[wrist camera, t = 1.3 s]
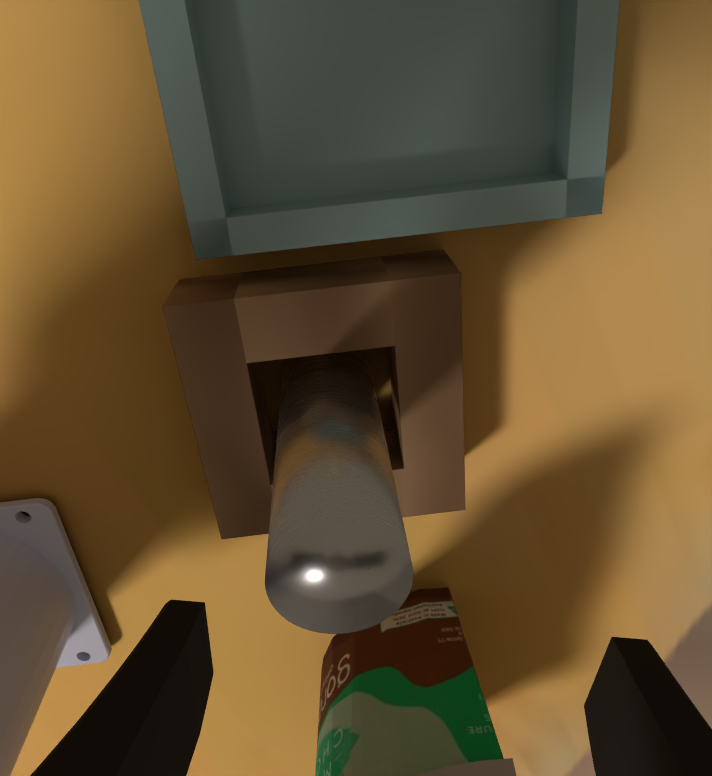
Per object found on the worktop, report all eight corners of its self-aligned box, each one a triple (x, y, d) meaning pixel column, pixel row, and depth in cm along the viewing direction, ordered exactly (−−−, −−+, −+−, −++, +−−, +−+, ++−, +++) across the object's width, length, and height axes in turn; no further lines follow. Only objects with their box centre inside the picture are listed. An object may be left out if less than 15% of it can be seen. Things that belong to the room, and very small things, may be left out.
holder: (229, 494, 22) (221, 539, 20) (179, 280, 19) (162, 307, 16) (450, 467, 22) (465, 509, 20) (443, 249, 19) (460, 273, 17)
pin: (288, 426, 21) (277, 642, 13) (275, 346, 20) (253, 532, 12) (376, 416, 21) (417, 624, 13) (368, 335, 20) (408, 513, 12)
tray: (205, 243, 18) (195, 260, 17) (135, -96, 15) (113, -116, 13) (576, 201, 18) (601, 213, 17) (598, -144, 15) (634, -171, 13)
